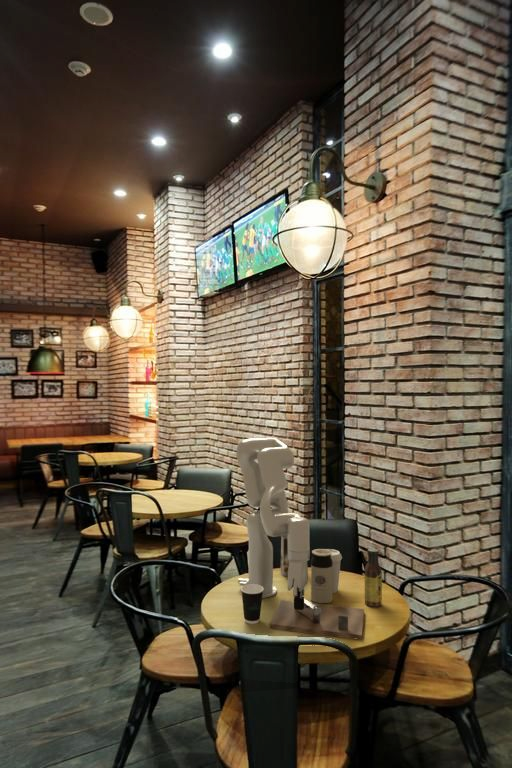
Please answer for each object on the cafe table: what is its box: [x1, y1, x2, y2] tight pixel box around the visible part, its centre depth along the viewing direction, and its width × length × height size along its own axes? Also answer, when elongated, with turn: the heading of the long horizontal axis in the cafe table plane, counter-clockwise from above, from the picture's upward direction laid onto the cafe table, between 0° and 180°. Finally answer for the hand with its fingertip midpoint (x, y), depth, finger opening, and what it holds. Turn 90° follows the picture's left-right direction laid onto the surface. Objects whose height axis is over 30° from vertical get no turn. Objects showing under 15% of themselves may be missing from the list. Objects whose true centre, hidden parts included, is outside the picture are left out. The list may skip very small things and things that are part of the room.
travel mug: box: [310, 548, 333, 604], centre depth 192 cm, size 8×8×18 cm
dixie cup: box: [240, 584, 264, 625], centre depth 174 cm, size 8×8×11 cm
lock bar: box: [298, 598, 320, 623], centre depth 174 cm, size 14×2×5 cm, turn 28°
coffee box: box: [280, 535, 290, 577], centre depth 220 cm, size 9×6×16 cm
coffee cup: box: [325, 548, 343, 594], centre depth 201 cm, size 10×10×15 cm
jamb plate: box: [268, 599, 365, 640], centre depth 174 cm, size 30×20×6 cm, turn 76°
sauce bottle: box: [364, 548, 383, 608], centre depth 188 cm, size 7×6×20 cm
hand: (299, 608), depth 174 cm, fingers closed
